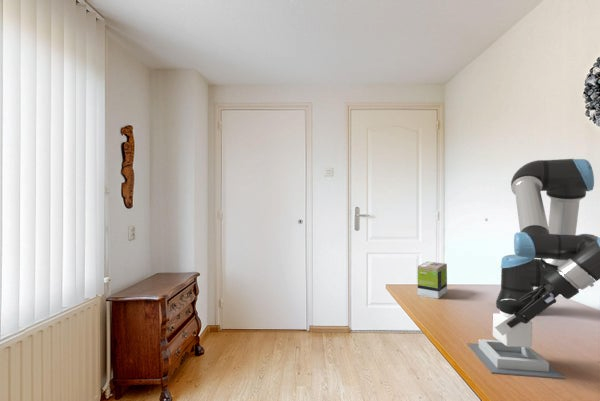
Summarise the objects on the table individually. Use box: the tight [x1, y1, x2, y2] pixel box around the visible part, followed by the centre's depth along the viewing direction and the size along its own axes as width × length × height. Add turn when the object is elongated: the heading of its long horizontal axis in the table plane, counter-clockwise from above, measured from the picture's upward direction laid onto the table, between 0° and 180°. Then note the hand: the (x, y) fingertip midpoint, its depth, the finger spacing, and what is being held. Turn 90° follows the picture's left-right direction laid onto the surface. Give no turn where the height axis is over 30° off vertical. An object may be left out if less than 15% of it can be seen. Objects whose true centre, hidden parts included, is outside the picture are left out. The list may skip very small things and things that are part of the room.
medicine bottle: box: [492, 299, 533, 348], centre depth 97 cm, size 7×7×12 cm
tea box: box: [417, 261, 448, 300], centre depth 164 cm, size 15×10×15 cm
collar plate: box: [466, 338, 566, 380], centre depth 97 cm, size 18×18×4 cm
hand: (499, 325), depth 98 cm, fingers closed on medicine bottle, 9 cm apart
